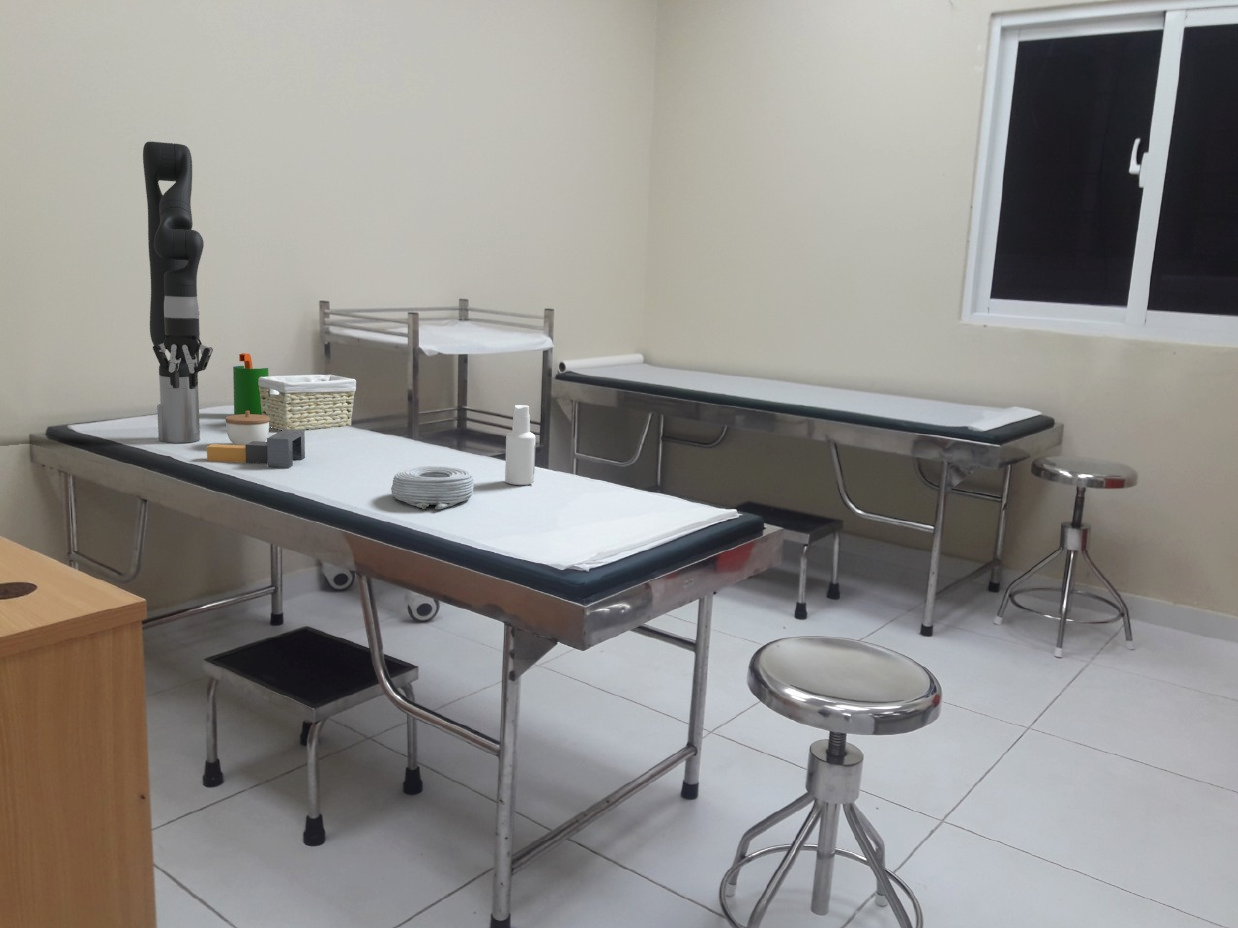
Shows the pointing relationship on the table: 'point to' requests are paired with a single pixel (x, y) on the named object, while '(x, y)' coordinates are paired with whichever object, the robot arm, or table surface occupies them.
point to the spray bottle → (520, 449)
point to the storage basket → (307, 401)
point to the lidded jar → (247, 428)
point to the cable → (432, 486)
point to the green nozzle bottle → (247, 386)
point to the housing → (285, 448)
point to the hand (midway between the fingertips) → (184, 387)
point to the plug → (239, 453)
